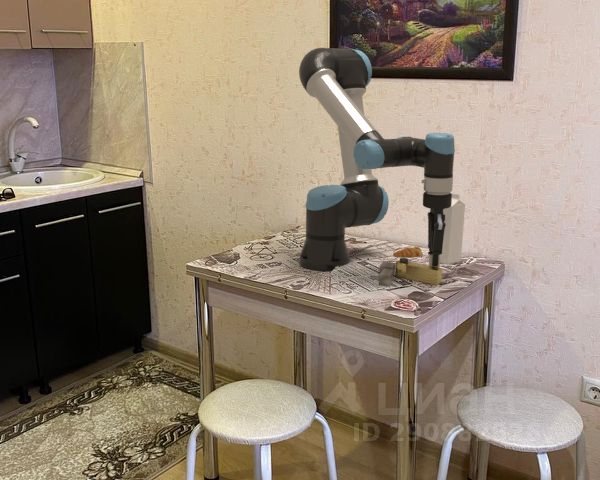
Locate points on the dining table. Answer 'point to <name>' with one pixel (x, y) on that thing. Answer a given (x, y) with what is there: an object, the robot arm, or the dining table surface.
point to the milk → (453, 231)
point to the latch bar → (419, 272)
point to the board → (388, 272)
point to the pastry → (409, 253)
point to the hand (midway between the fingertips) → (433, 276)
